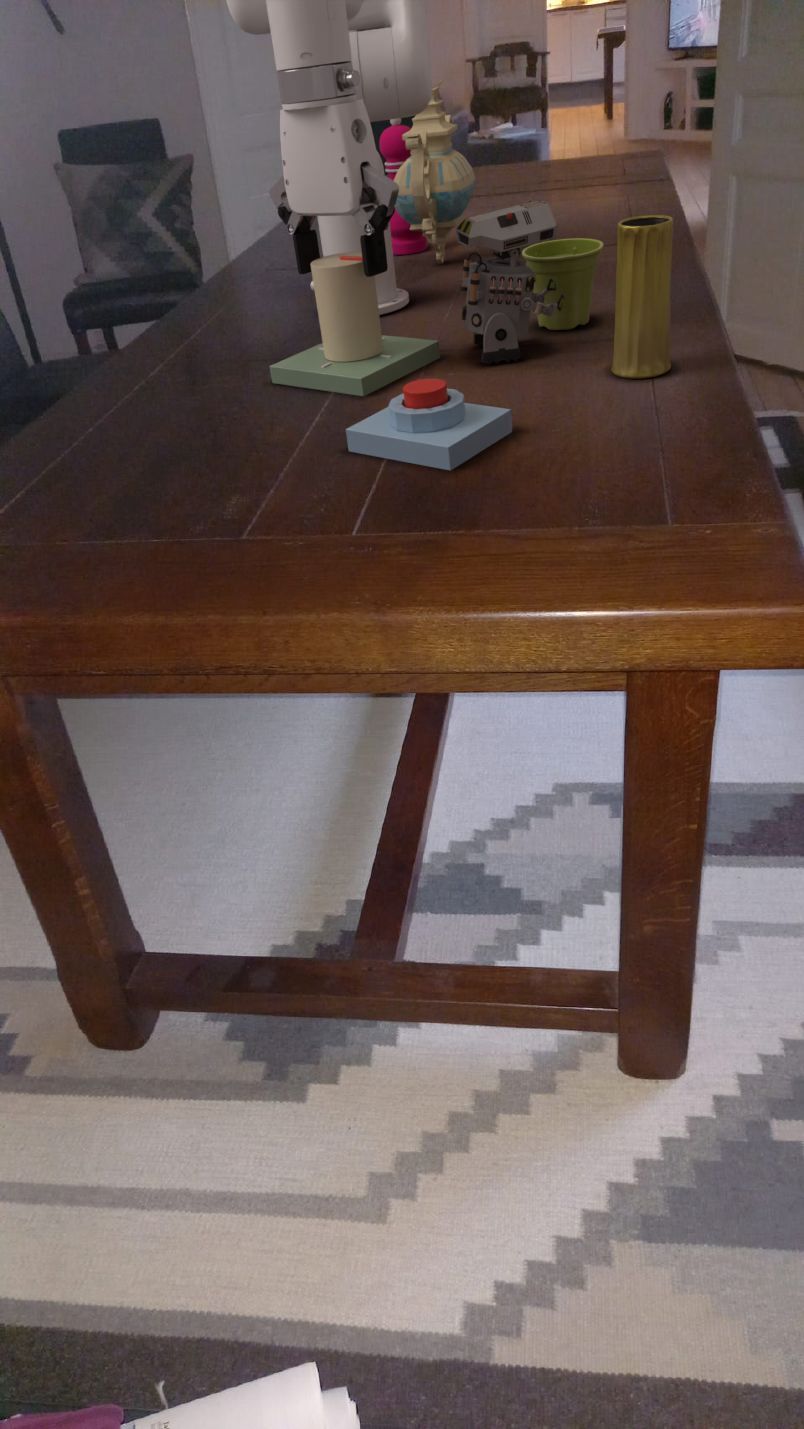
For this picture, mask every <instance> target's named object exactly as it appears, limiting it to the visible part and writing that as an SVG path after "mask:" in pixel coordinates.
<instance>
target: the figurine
mask: <svg viewBox="0 0 804 1429" xmlns="http://www.w3.org/2000/svg"><path fill="white" fill-rule="evenodd" d="M557 232H558V224H557V222H556V219H555V217H554V214H553V212H552V209H551V206H550V204H549V202H546V201H544V200H541V199H535V200H529V201H527V202H524V203H521V204H517V205H512V206H509V207H506V208H502V209H497V210H494V211H490V212H486V213H482V214H478V215H475V216H470V217H467V218H464V219H463V220H462V221H461V222H460V223H459V224H458V225H457V226H456V227H455V233H456V238H457V242H458V243H459V244H461V245H463V246H464V247H467V248H468V249H472V248H476V247H478V246H481V247H485V248H487V249H490V251H491V252H492V255H493V256H494V257H488V258H484V259H483V260H482V256H481V255H480V253H479V252H477V251H472V252H471V253H470V254H469V255H468V257H467V258H466V259H464V260H463V261H464V262H463V266H462V278H461V286H460V291H463V292H466V299H465V304H462V312H461V320H462V321H463V323H464V325H465V327H466V329H467V331H469V332H472V333H473V340H472V341H473V344H474V345H477V346H478V347H480V348H481V347H482V348H483V349H482V350H481V362H482V363H483V364H484V363H486V364H487V365H488V366H490V365H492V364H493V363H494V364H495V365H498V364H499V363H500V362H501V361H505V362H506V363H510V362H511V361H512V360H513V362H518V361H519V359H520V358H522V354H521V349H520V346H519V342H518V337H519V336H523V335H527V334H528V332H529V324H530V317H531V311H532V313H533V314H536V315H537V314H538V315H540V314H541V313H542V314H544V315H548V316H551V315H552V314H553V311H554V309H556V308H558V310H559V311H561V308H562V305H561V307H559V304H560V301H561V299H562V298H563V299H564V296H563V294H562V295H561V297H560V299H559V301H558V302H557V303H555V304H552V303H551V304H550V303H549V302H547V303H546V304H545V305H544V304H543V303H544V302H545V297H544V296H545V295H546V294H547V293H548V291H554V290H556V284H555V287H554V288H549V287H550V284H551V281H552V282H554V281H553V280H552V279H551V278H550V280H549V283H548V285H547V288H545V289H544V290H543V291H542V292H541V293H538V292H537V293H534V292H533V290H534V282H535V281H536V280H535V273H534V272H533V271H532V269H531V268H530V267H528V266H527V263H525V262H523V261H521V260H517V259H516V258H517V257H518V256H520V255H521V248H523V247H526V246H527V247H528V246H531V245H534V244H538V243H542V242H546V241H550V240H552V239H556V238H557ZM472 255H477V256H478V257H479V261H474V262H473V260H472V259H470V258H471V256H472ZM554 283H555V282H554Z"/></svg>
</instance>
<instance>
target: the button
mask: <svg viewBox="0 0 804 1429" xmlns="http://www.w3.org/2000/svg"><path fill="white" fill-rule="evenodd" d="M447 388H448V385H447V382H446V380H444V379H441V378H421V379H416V380H412V381H410V382H408V383H406V384H405V385H404V386H403V387H402V393H404V401H405V407H406V408H411V409H429V408H433V407H437V406H441V405H444V404H446V403H447V402H448V395H447Z"/></svg>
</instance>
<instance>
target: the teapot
mask: <svg viewBox="0 0 804 1429" xmlns="http://www.w3.org/2000/svg"><path fill="white" fill-rule="evenodd" d="M429 52H430V49H429ZM442 82H443V79H440V80H439V82H438V84H437V85H436V87H433V86H432V90H431V98H430V102H429V104H428V106H427V107H426V109H425V110H424V111H423V112H421V113H419V114H417V115H414V117H413V118H411V121H412V126H411V127H410V128H411V130H410V131H408V132H406V133H405V134H403V135H402V139H403V140H405V141H406V150H411V153H410V154H411V156H410V157H409V158H408V159H407V160H406V161H405V162H404V164H403V165H402V166H401V167H400V168H399V170H398V171H397V174H396V176H395V179H394V182H396V183H397V184H398V186H399V193H398V196H397V200H396V204H395V205H394V207H395V209H396V211H397V212H398V214H399V215H400V216H401V217H402V218H403V219H404V220H405V221H407V222H408V223H410V225H411V227H410V230H411V231H421V232H423V234H424V236H425V237H426V239H427V240H428V242H429V243H430V244H431V245H432V246H433V248H434V251H435V261H437V263H438V264H444V260H445V256H446V250H445V247H446V245H447V244H446V243H447V241H448V240H449V239H450V233H451V231H452V229H454V228H457V227H458V226H459V225H460V224H461V223H462V222H463V220H464V219H466V215H465V213H464V212H465V211H466V209H467V207H468V205H469V203H470V201H471V200H472V197H473V193H474V191H475V187H476V175H475V171H474V168H473V167H472V165H471V164H470V162H469V161H468V159H467V158H466V156H464V155H463V154H462V153H461V152H459V151H457V150H456V149H454V148H453V143H452V136H453V134H454V132H455V131H457V130H458V124H457V123H453V119H452V114H446V112H445V111H442V108H441V107H442V104H443V102H444V100H443V99H440V98H439V90H440V86H441V85H442Z"/></svg>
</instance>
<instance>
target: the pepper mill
mask: <svg viewBox="0 0 804 1429" xmlns="http://www.w3.org/2000/svg"><path fill="white" fill-rule="evenodd" d="M389 123H390V125H391V126H389V127H387V128H385V129H384V130H383V131H382V133H381V135H380V137H379V142H378V143H379V151H380V153H381V155H382V156H383V158H384V159H385V160H386V161H385V162H384V166H385V168H384V172H386V173H387V175H388V176H387V177H388V178H390V179H391V180H393V181H394V179H395V176H396V174H397V171H398V170H399V168H400V167H401V166H402V165H403V164H404V162H405V161H406V160H407V159H408V158H409V157H410V156H411V154H410V153H411V150H406V141H405V140H403V139H402V135H403V134H405V133H406V132H408V131H410V130H411V128H412V127H410V126H407V125H405V124H401V123H402V118H398V119H390V120H389ZM410 227H411V225H410V223H408V222H407V221H405V220H404V219H403V218H402V217H401V216H400V215H399V214H398V212H397V211H396V209H395V212H394V215H393V216H392V218H391V220H390V230H391V240H392V249H393V256H394V255H395V256H405V255H413V254H419V253H422V252H424V251H426V250H427V249H428V241H427V236H426V235H423V234H424V233H423V232H421V231H411V230H410Z"/></svg>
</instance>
